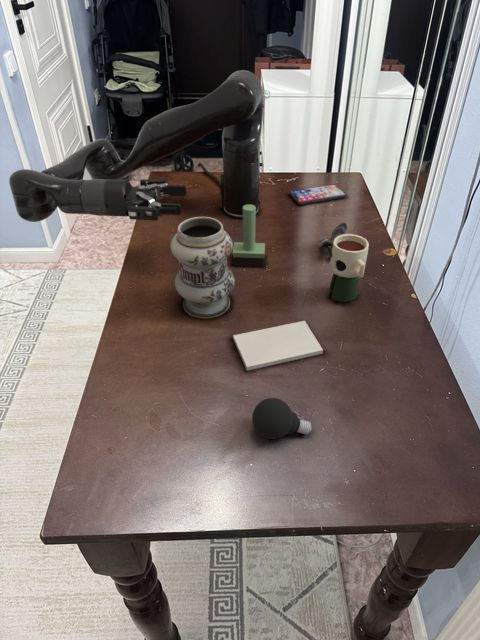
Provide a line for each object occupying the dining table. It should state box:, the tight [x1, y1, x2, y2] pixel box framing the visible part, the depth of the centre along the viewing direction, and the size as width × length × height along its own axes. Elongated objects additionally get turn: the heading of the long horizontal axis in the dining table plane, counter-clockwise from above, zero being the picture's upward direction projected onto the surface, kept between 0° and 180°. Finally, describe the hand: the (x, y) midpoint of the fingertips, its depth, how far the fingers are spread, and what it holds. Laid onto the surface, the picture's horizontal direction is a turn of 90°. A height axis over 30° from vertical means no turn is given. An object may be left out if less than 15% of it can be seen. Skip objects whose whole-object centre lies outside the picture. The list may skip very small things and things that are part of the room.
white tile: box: [232, 320, 324, 372], centre depth 94 cm, size 15×9×1 cm, turn 109°
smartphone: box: [288, 183, 347, 206], centre depth 140 cm, size 8×1×15 cm
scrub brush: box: [232, 204, 266, 268], centre depth 111 cm, size 7×5×14 cm, turn 88°
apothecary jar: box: [170, 216, 236, 319], centre depth 97 cm, size 12×12×18 cm
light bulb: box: [251, 397, 312, 440], centre depth 78 cm, size 6×6×10 cm
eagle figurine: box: [317, 222, 348, 261], centre depth 117 cm, size 8×7×9 cm
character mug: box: [328, 233, 370, 303], centre depth 102 cm, size 11×7×13 cm, turn 23°
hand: (183, 199), depth 105 cm, fingers open, 8 cm apart
